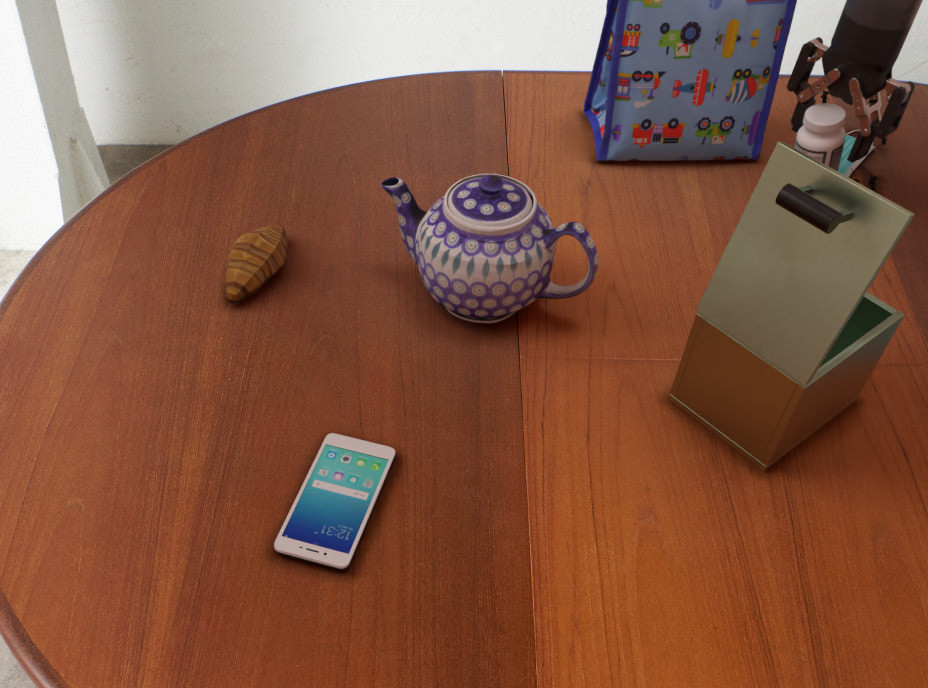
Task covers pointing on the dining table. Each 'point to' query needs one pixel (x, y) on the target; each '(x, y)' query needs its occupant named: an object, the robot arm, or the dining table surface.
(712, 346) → the waste bin
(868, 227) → the bin lid
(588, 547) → the dining table surface
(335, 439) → the smartphone
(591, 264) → the teapot
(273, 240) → the croissant
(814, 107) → the pill bottle
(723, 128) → the lunch bag
